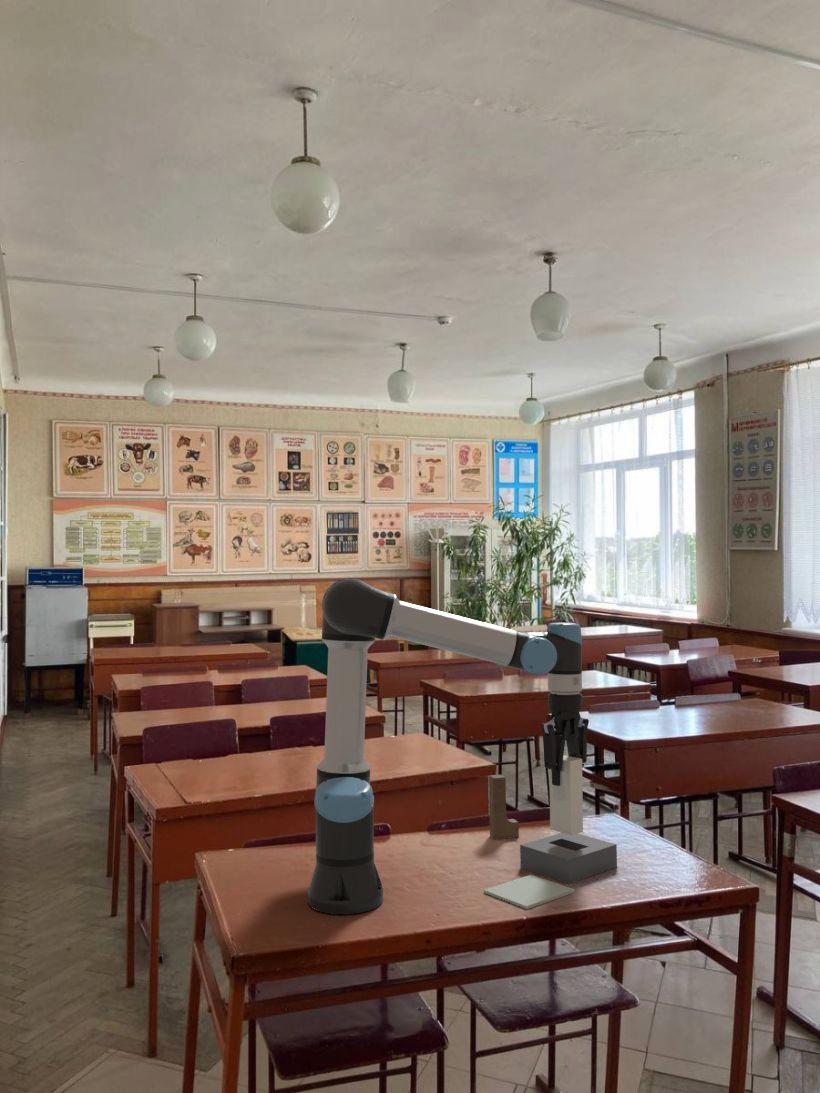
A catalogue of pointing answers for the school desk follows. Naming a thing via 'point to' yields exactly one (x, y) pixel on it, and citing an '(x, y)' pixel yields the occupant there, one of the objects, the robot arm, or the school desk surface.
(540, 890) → the mat
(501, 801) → the wooden block
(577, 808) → the plug
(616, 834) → the school desk surface
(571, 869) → the socket block
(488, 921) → the school desk surface
